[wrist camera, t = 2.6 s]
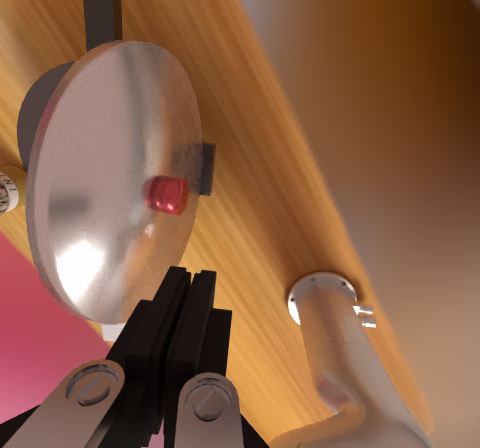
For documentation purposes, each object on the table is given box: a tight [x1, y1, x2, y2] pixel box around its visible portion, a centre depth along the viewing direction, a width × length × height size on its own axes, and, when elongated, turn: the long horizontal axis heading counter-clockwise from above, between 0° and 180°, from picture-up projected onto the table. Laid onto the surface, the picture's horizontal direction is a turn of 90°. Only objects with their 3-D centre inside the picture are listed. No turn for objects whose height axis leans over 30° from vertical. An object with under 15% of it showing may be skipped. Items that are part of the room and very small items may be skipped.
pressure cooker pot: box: [17, 0, 216, 196], centre depth 37 cm, size 23×30×12 cm
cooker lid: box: [25, 40, 203, 325], centre depth 23 cm, size 21×21×4 cm
